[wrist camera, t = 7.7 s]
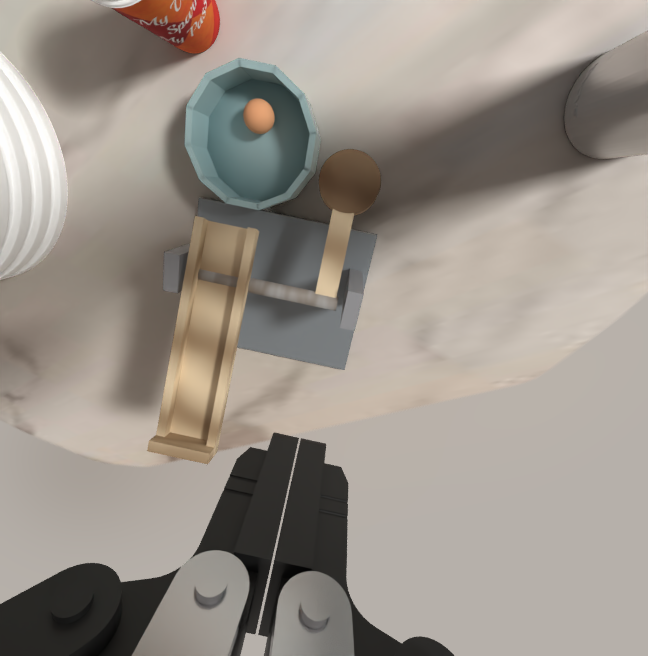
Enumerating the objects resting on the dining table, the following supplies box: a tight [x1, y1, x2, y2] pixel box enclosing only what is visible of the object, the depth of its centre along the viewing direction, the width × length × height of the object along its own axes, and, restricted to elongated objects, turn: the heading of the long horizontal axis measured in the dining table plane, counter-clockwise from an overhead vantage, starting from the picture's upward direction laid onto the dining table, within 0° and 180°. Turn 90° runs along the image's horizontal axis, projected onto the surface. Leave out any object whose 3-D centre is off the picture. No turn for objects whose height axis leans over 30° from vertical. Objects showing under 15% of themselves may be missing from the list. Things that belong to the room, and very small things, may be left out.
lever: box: [147, 149, 381, 464], centre depth 33 cm, size 30×16×4 cm, turn 169°
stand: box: [163, 197, 377, 370], centre depth 39 cm, size 17×20×10 cm
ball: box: [243, 98, 275, 134], centre depth 35 cm, size 3×3×3 cm
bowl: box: [185, 58, 321, 210], centre depth 36 cm, size 12×12×5 cm
